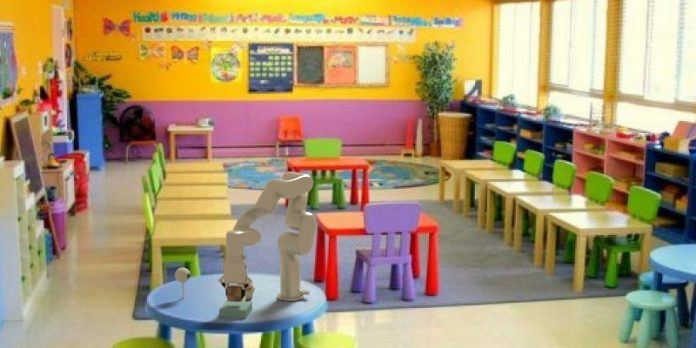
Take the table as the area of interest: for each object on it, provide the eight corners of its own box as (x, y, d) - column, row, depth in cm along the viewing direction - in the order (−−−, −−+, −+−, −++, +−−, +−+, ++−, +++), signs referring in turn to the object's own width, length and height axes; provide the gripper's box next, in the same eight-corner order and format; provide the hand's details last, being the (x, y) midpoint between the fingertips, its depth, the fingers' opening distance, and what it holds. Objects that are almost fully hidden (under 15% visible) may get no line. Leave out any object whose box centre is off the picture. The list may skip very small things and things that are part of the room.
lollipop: (186, 301, 414) (185, 270, 412) (172, 299, 417) (171, 269, 414) (193, 297, 421) (192, 266, 418) (180, 295, 423) (179, 265, 421)
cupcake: (238, 294, 425) (238, 274, 423) (257, 295, 423) (257, 275, 421) (232, 300, 416) (232, 280, 414) (252, 301, 414) (251, 281, 412)
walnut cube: (243, 297, 399) (243, 284, 398) (240, 301, 393) (240, 288, 392) (230, 297, 400) (230, 284, 399) (227, 301, 394) (227, 288, 393)
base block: (252, 310, 403) (252, 302, 402) (246, 319, 391) (245, 310, 390) (226, 309, 404) (226, 300, 404) (219, 317, 393) (219, 309, 392)
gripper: (255, 256, 396) (256, 295, 399) (218, 255, 398) (218, 294, 401) (252, 261, 389) (252, 300, 392) (213, 259, 391) (214, 299, 394)
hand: (235, 296), depth 396 cm, fingers closed on walnut cube, 6 cm apart
